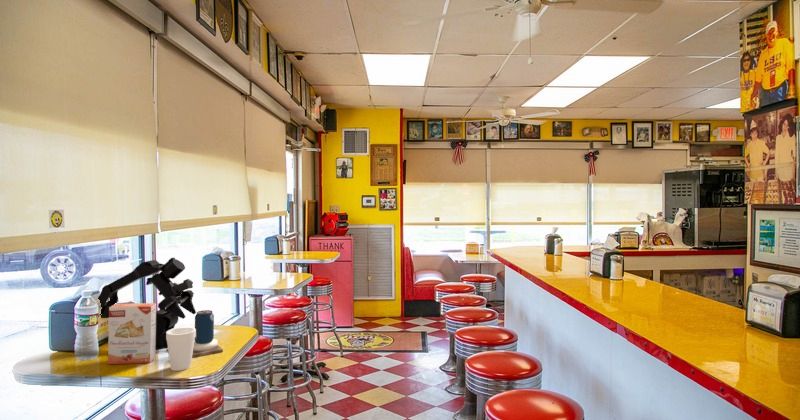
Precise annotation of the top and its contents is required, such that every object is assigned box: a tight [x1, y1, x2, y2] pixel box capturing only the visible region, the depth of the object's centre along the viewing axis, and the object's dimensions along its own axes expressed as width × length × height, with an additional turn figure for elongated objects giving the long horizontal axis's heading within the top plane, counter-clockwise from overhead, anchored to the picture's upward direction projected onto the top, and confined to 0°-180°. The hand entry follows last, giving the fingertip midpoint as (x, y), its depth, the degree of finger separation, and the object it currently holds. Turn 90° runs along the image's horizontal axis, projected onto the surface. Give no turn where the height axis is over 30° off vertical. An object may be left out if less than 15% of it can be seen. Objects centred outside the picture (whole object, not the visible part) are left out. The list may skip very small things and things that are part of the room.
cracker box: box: [107, 302, 157, 365], centre depth 161 cm, size 14×6×21 cm, turn 101°
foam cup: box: [166, 326, 196, 372], centre depth 156 cm, size 10×9×13 cm
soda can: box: [194, 309, 215, 344], centre depth 176 cm, size 7×7×12 cm
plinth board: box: [192, 338, 224, 359], centre depth 175 cm, size 16×16×3 cm
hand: (189, 315), depth 178 cm, fingers open, 9 cm apart
